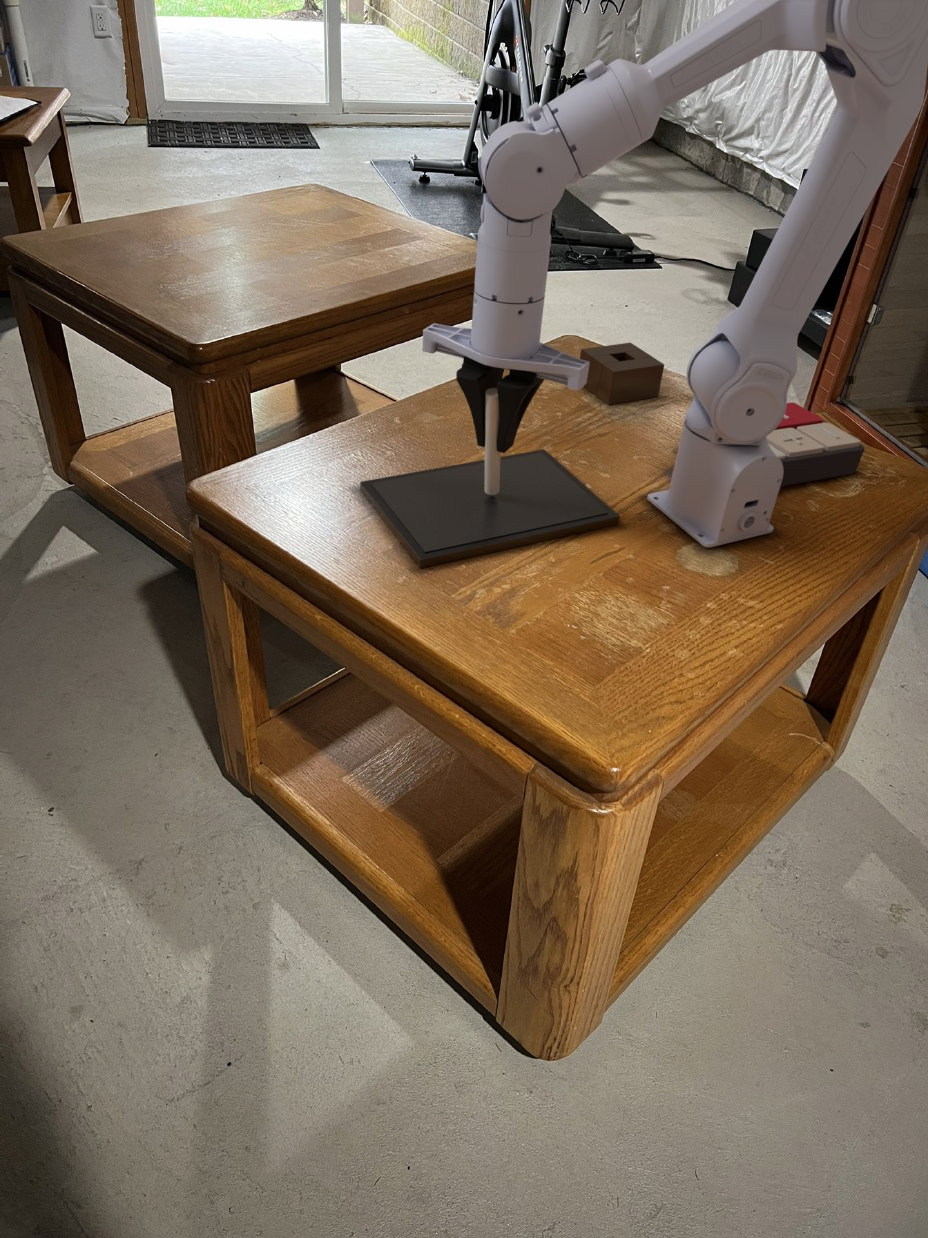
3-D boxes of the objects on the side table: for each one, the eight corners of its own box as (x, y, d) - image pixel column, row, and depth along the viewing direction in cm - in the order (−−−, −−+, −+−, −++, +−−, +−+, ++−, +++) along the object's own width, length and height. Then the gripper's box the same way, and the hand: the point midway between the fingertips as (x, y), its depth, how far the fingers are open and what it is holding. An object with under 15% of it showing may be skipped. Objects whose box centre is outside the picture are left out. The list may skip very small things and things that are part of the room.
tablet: (618, 524, 86) (620, 515, 85) (419, 568, 78) (420, 558, 78) (543, 456, 96) (544, 447, 95) (359, 489, 88) (359, 480, 87)
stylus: (502, 493, 87) (504, 389, 79) (495, 502, 86) (497, 397, 78) (488, 489, 87) (490, 385, 80) (481, 497, 86) (482, 393, 79)
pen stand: (658, 396, 109) (664, 364, 107) (608, 405, 107) (613, 371, 104) (624, 373, 114) (630, 342, 112) (576, 381, 112) (580, 348, 109)
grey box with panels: (870, 440, 95) (759, 458, 88) (855, 478, 97) (746, 498, 91) (794, 397, 102) (687, 410, 96) (782, 433, 105) (677, 448, 98)
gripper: (611, 297, 76) (587, 448, 84) (452, 262, 80) (445, 408, 89) (579, 322, 70) (557, 481, 79) (412, 283, 75) (407, 436, 83)
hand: (495, 445), depth 83 cm, fingers closed on stylus, 1 cm apart
